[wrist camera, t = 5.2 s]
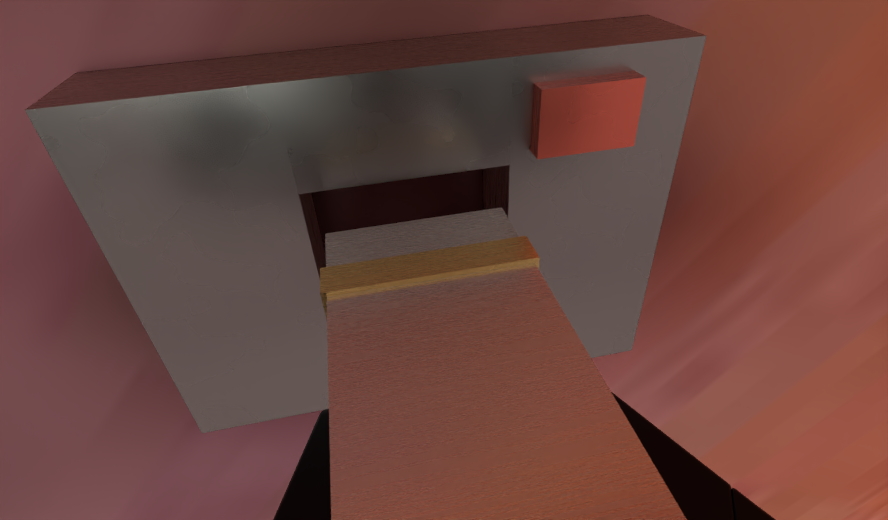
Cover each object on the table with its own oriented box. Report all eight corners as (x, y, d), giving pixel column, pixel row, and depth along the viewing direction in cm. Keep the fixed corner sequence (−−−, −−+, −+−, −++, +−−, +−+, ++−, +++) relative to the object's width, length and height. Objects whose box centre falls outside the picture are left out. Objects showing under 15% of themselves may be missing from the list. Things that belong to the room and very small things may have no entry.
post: (350, 363, 13) (375, 725, 8) (319, 230, 11) (321, 614, 5) (502, 335, 14) (636, 653, 8) (505, 202, 12) (702, 521, 6)
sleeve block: (215, 371, 17) (199, 447, 15) (75, 72, 11) (11, 119, 9) (598, 303, 19) (638, 360, 17) (648, 15, 13) (720, 40, 11)
